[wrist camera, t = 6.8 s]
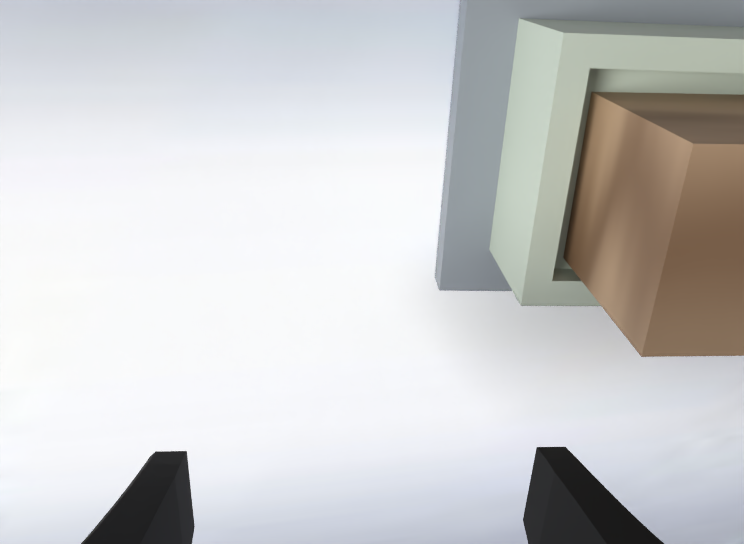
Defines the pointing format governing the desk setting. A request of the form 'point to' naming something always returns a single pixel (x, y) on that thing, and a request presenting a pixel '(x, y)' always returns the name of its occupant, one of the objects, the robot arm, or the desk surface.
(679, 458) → the desk surface
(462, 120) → the socket base
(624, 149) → the walnut block
